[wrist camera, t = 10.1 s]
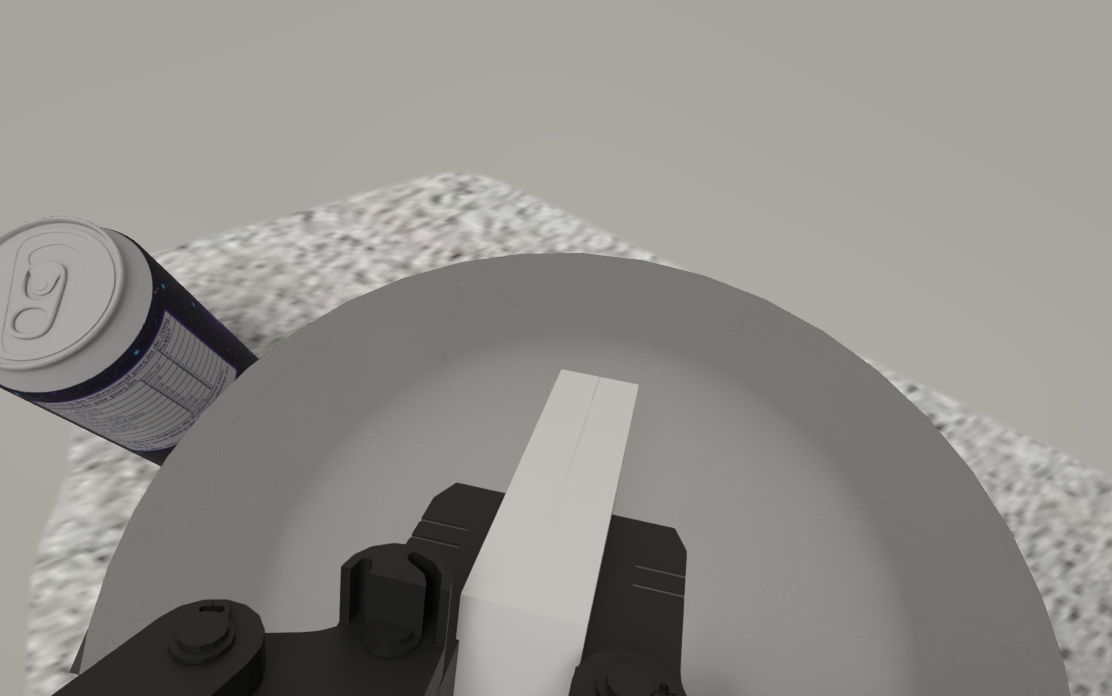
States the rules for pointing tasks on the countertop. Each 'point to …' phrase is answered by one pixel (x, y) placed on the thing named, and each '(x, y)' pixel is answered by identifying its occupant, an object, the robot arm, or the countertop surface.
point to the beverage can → (108, 336)
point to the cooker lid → (645, 486)
